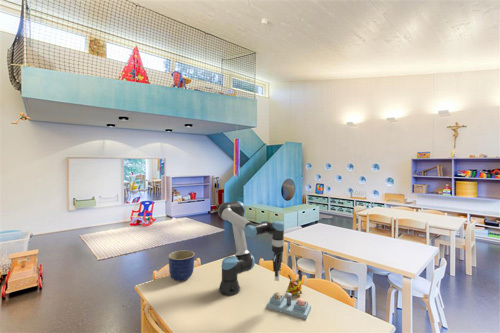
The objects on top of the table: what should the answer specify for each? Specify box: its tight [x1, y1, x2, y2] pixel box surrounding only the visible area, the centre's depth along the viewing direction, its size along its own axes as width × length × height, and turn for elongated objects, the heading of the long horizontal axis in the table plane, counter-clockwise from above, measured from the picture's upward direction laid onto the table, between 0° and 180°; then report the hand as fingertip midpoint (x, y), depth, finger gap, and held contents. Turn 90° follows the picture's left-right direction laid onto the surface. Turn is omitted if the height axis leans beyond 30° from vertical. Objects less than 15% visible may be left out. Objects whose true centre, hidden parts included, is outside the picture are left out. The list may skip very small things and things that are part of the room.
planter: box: [168, 249, 196, 282], centre depth 202 cm, size 21×21×19 cm
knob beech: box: [273, 291, 282, 300], centre depth 164 cm, size 4×4×7 cm
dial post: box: [285, 292, 293, 306], centre depth 160 cm, size 4×4×7 cm
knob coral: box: [297, 297, 306, 306], centre depth 157 cm, size 4×4×7 cm
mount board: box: [266, 293, 312, 320], centre depth 160 cm, size 26×12×6 cm, turn 64°
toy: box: [286, 274, 303, 297], centre depth 180 cm, size 14×10×15 cm
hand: (276, 280), depth 164 cm, fingers closed
